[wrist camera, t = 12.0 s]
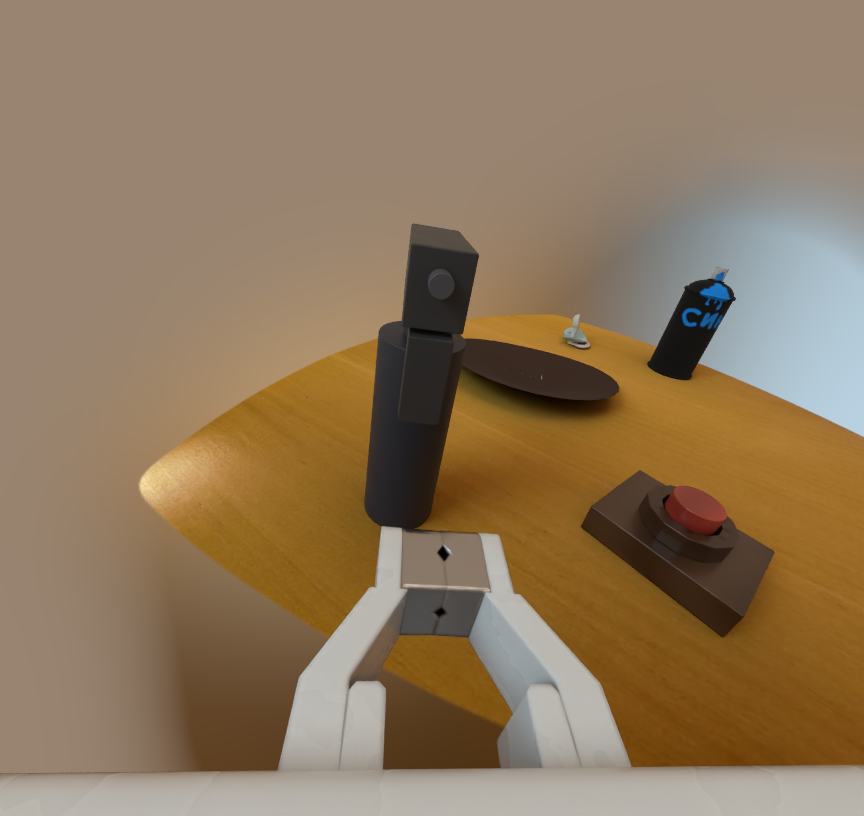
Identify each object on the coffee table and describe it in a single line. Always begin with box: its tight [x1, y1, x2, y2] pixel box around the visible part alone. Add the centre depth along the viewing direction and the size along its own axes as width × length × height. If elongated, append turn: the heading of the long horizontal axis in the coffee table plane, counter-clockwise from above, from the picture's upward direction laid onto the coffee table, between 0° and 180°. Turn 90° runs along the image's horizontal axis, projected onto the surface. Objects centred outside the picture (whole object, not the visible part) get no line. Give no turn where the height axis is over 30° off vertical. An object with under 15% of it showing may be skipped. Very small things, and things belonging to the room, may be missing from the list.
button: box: [665, 486, 727, 536], centre depth 32 cm, size 4×4×2 cm
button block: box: [581, 470, 775, 637], centre depth 33 cm, size 12×10×4 cm
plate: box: [462, 339, 619, 400], centre depth 62 cm, size 28×28×4 cm
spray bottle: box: [365, 224, 479, 529], centre depth 26 cm, size 10×6×22 cm, turn 3°
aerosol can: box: [648, 267, 736, 380], centre depth 71 cm, size 8×8×20 cm
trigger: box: [398, 328, 454, 425], centre depth 21 cm, size 2×2×5 cm
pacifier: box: [563, 314, 590, 348], centre depth 80 cm, size 7×6×6 cm
